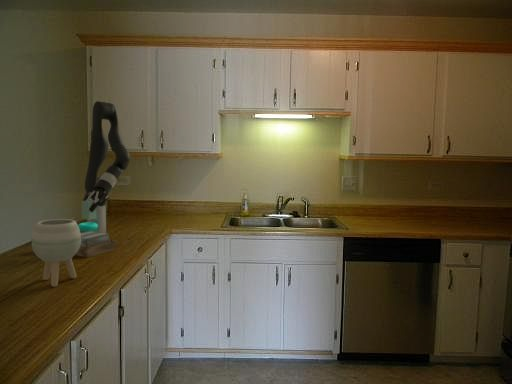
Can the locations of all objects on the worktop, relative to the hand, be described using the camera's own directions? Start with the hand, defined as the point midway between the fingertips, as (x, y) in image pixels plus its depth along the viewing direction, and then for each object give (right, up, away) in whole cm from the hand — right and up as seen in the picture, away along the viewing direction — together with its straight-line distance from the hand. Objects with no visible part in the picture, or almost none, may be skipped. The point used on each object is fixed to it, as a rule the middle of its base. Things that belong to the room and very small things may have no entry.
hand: (86, 210), depth 184 cm
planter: (+7, -25, -41) cm, 48 cm away
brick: (0, -4, +2) cm, 4 cm away
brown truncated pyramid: (0, -20, +3) cm, 20 cm away
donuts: (-9, -18, +21) cm, 29 cm away
